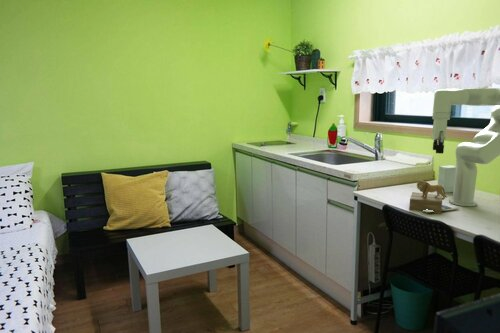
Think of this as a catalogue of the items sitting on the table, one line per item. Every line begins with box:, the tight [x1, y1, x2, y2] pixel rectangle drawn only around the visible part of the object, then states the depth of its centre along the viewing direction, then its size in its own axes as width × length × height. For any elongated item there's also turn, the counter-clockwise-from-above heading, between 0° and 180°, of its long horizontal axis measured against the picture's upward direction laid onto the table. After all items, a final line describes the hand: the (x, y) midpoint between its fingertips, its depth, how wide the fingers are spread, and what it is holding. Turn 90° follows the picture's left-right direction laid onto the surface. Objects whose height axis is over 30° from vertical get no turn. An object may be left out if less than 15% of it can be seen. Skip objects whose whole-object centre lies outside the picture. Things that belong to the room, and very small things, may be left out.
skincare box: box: [437, 164, 456, 194], centre depth 221 cm, size 8×6×15 cm
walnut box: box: [408, 191, 443, 215], centre depth 191 cm, size 14×14×6 cm
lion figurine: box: [416, 179, 448, 201], centre depth 188 cm, size 15×5×9 cm, turn 85°
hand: (437, 151), depth 187 cm, fingers open, 9 cm apart
